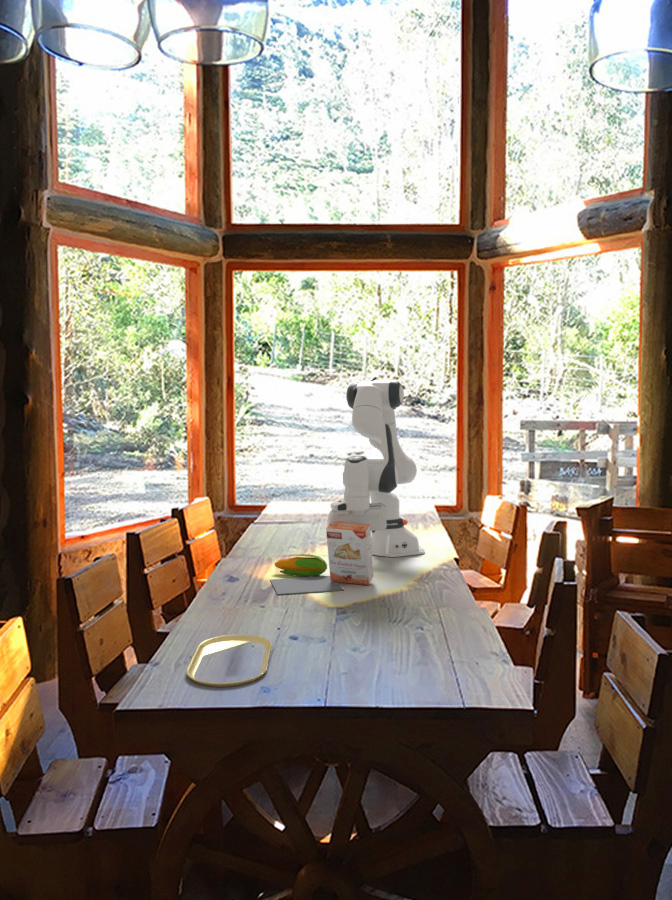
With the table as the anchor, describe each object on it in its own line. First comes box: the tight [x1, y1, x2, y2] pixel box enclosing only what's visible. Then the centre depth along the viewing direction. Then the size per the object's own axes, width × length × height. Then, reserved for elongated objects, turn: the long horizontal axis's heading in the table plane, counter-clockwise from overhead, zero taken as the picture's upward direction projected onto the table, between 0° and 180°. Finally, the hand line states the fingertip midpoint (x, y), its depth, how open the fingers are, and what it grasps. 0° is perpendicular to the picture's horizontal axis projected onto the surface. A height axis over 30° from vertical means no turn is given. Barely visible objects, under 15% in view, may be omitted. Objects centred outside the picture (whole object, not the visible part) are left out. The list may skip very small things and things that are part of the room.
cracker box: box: [325, 521, 374, 586], centre depth 269 cm, size 14×6×21 cm, turn 71°
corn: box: [274, 553, 328, 577], centre depth 285 cm, size 7×8×20 cm
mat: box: [269, 575, 345, 596], centre depth 270 cm, size 22×20×1 cm
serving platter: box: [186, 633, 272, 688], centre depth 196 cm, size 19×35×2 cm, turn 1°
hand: (357, 544), depth 272 cm, fingers closed
